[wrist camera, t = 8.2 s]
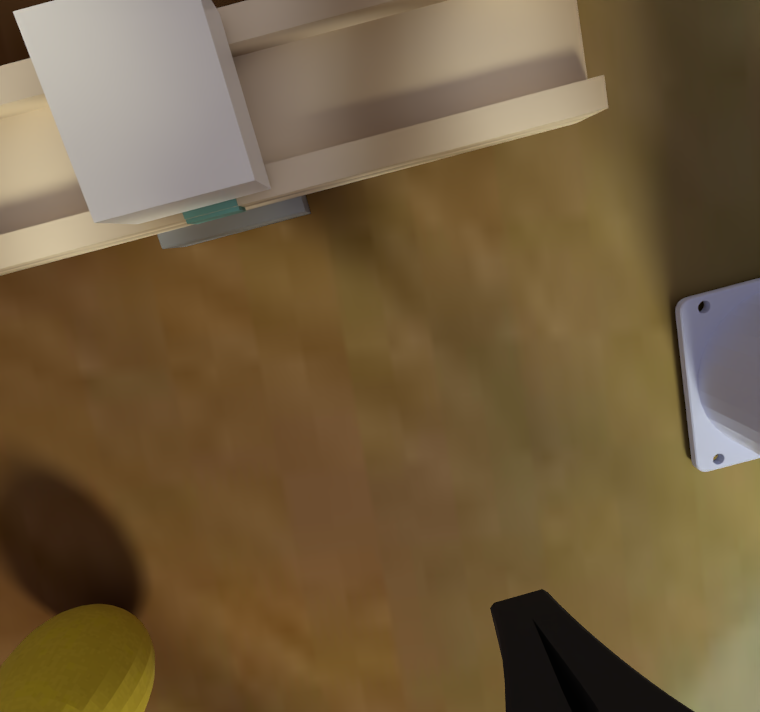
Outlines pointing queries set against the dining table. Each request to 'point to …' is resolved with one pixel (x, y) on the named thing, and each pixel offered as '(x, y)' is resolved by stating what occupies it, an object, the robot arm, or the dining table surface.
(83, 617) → the lemon
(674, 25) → the dining table surface
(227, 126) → the rider
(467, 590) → the dining table surface
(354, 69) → the beam
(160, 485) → the dining table surface
